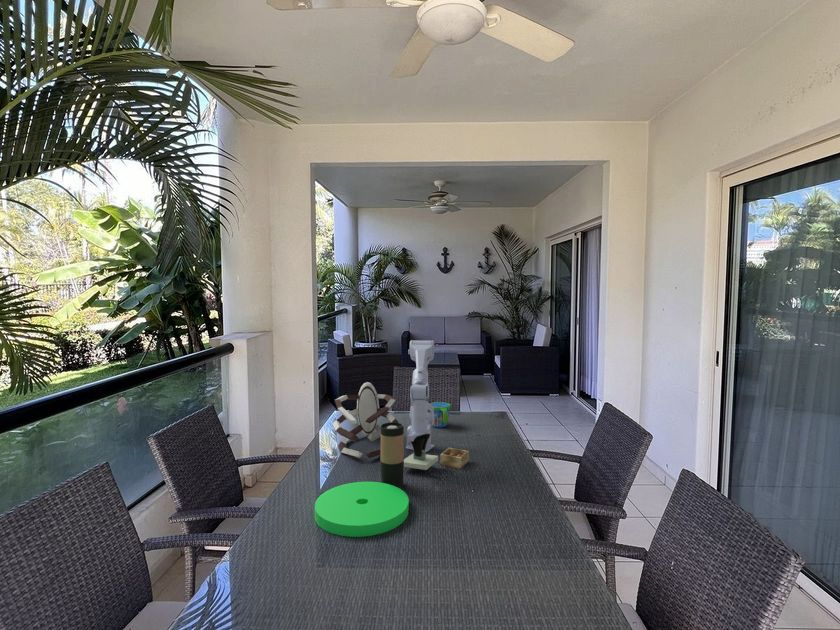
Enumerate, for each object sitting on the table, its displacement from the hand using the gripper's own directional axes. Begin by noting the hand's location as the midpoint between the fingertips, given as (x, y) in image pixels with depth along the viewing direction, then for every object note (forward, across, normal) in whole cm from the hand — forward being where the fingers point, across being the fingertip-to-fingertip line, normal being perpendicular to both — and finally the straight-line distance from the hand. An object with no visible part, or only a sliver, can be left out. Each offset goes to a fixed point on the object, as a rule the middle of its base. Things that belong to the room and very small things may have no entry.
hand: (419, 455), depth 162 cm
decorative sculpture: (+6, +11, +30) cm, 33 cm away
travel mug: (+6, -16, +2) cm, 17 cm away
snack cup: (+5, +51, +15) cm, 53 cm away
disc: (+6, -35, +1) cm, 35 cm away
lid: (+2, 0, 0) cm, 2 cm away
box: (+5, +11, -9) cm, 15 cm away
